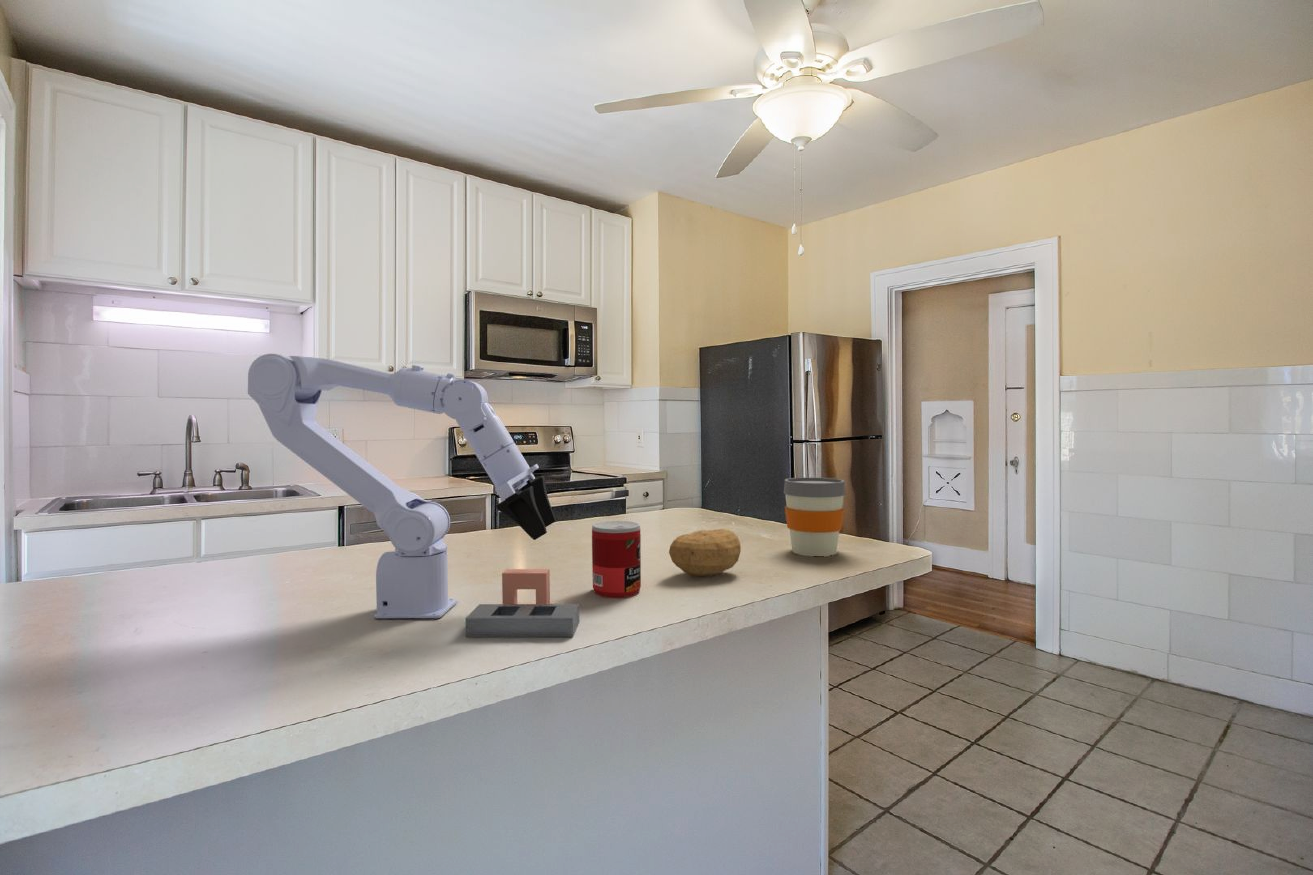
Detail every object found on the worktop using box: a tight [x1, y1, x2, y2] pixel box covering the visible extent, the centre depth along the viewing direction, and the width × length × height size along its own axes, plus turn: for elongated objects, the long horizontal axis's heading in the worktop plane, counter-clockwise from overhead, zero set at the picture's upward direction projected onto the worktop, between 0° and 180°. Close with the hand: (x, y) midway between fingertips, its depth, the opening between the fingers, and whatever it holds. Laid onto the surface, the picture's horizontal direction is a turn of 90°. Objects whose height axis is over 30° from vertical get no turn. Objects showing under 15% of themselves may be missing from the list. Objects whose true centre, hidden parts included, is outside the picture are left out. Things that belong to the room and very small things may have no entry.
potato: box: [668, 528, 742, 578], centre depth 111 cm, size 10×14×8 cm
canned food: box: [591, 520, 642, 599], centre depth 101 cm, size 8×8×11 cm
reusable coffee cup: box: [783, 477, 846, 557], centre depth 130 cm, size 13×13×15 cm
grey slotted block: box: [465, 603, 581, 638], centre depth 84 cm, size 14×6×2 cm, turn 89°
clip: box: [501, 568, 551, 604], centre depth 94 cm, size 7×3×5 cm, turn 89°
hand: (545, 530), depth 93 cm, fingers open, 7 cm apart
